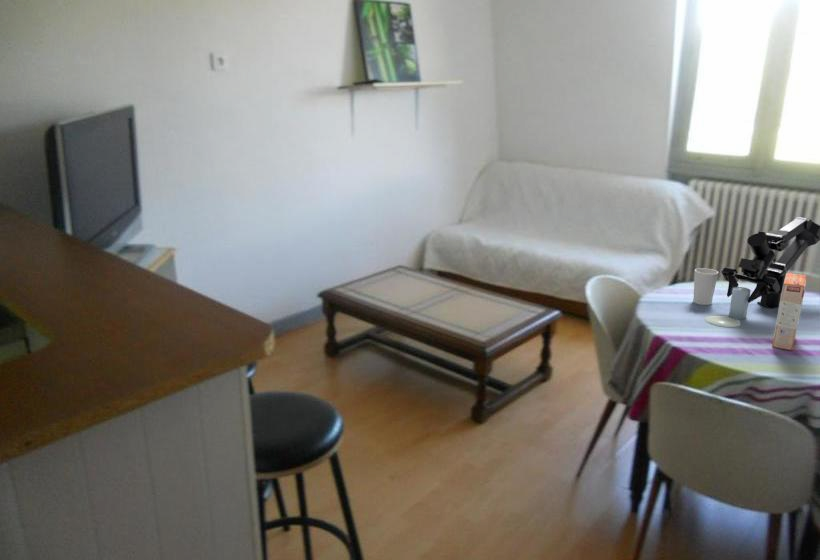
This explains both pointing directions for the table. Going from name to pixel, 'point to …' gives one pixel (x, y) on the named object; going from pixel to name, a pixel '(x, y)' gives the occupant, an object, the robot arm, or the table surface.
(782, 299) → the cracker box
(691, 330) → the table surface
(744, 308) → the grey cylinder
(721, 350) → the table surface
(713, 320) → the mat
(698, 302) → the cup
